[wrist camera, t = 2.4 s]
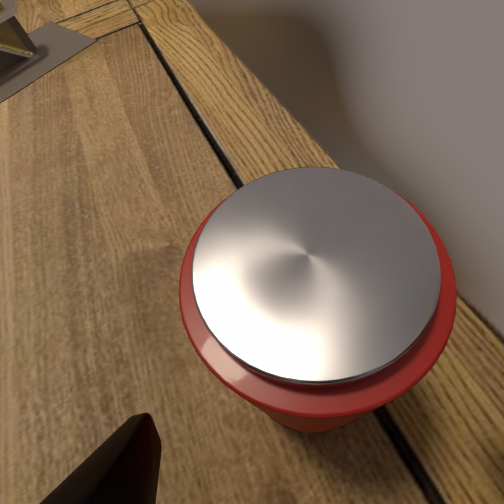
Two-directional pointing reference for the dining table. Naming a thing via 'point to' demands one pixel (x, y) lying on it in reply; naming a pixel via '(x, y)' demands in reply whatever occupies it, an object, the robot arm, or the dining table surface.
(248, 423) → the dining table surface
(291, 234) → the can
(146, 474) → the robot arm
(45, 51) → the platform
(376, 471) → the dining table surface
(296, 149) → the dining table surface
